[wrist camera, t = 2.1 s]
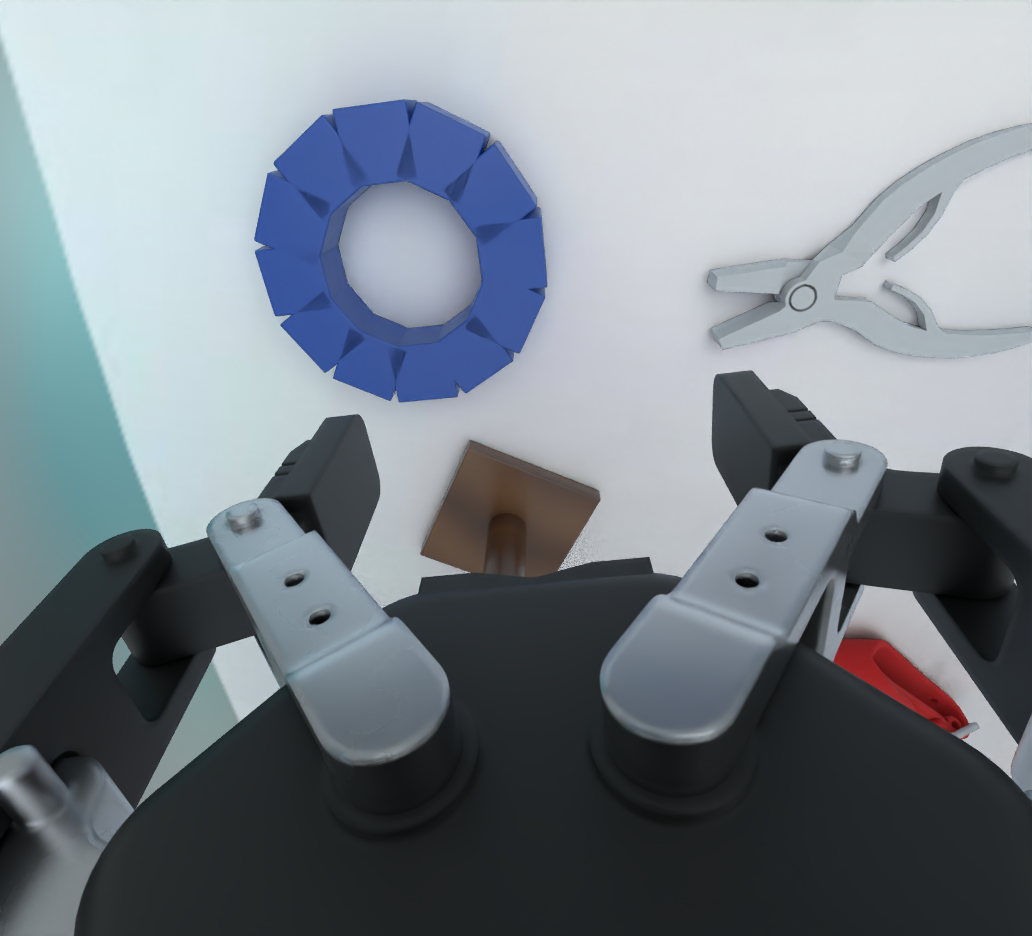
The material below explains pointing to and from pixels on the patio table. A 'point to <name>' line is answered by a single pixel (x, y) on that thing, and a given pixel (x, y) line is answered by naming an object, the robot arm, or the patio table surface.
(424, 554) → the post
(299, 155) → the ring
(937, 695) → the tracker holder
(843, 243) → the pliers
